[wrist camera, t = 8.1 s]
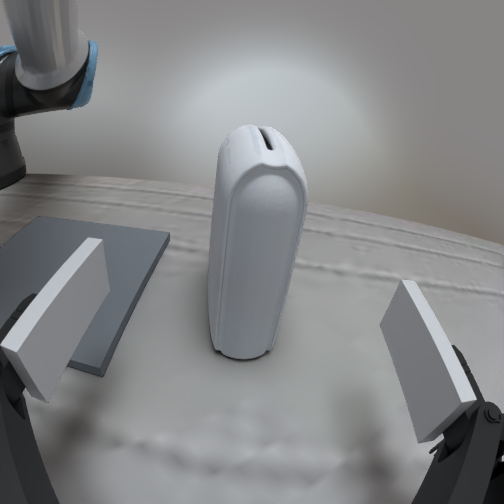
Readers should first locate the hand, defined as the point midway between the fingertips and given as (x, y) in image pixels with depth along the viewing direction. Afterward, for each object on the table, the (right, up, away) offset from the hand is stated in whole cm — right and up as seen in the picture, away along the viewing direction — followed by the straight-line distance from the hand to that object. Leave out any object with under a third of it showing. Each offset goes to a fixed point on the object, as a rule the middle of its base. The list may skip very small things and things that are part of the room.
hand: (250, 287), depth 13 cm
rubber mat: (-16, 0, +8) cm, 18 cm away
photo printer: (-1, -3, +9) cm, 9 cm away
